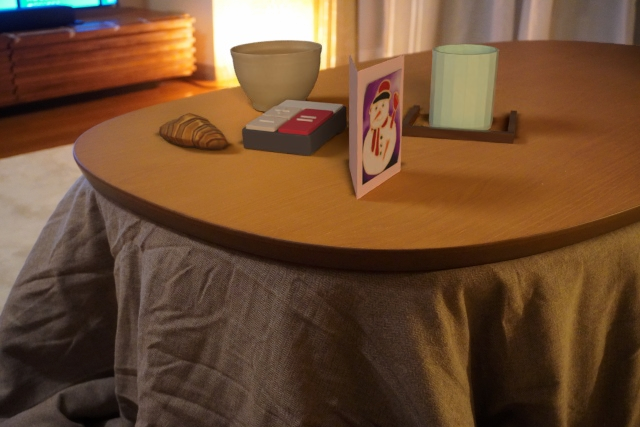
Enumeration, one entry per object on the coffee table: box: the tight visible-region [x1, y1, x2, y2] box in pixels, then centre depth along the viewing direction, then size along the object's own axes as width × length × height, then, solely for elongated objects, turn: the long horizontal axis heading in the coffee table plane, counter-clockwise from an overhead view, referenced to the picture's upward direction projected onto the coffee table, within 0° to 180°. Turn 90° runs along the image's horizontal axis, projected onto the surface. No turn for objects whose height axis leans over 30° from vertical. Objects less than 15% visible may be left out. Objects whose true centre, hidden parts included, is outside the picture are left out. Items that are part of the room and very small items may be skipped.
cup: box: [428, 43, 500, 131], centre depth 98 cm, size 10×10×12 cm
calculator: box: [241, 100, 348, 157], centre depth 95 cm, size 11×4×15 cm
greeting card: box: [348, 52, 405, 201], centre depth 75 cm, size 11×7×15 cm, turn 147°
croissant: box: [158, 112, 228, 151], centre depth 92 cm, size 14×7×5 cm, turn 54°
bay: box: [402, 104, 518, 144], centre depth 99 cm, size 14×17×2 cm
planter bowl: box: [229, 39, 323, 113], centre depth 111 cm, size 16×16×11 cm
